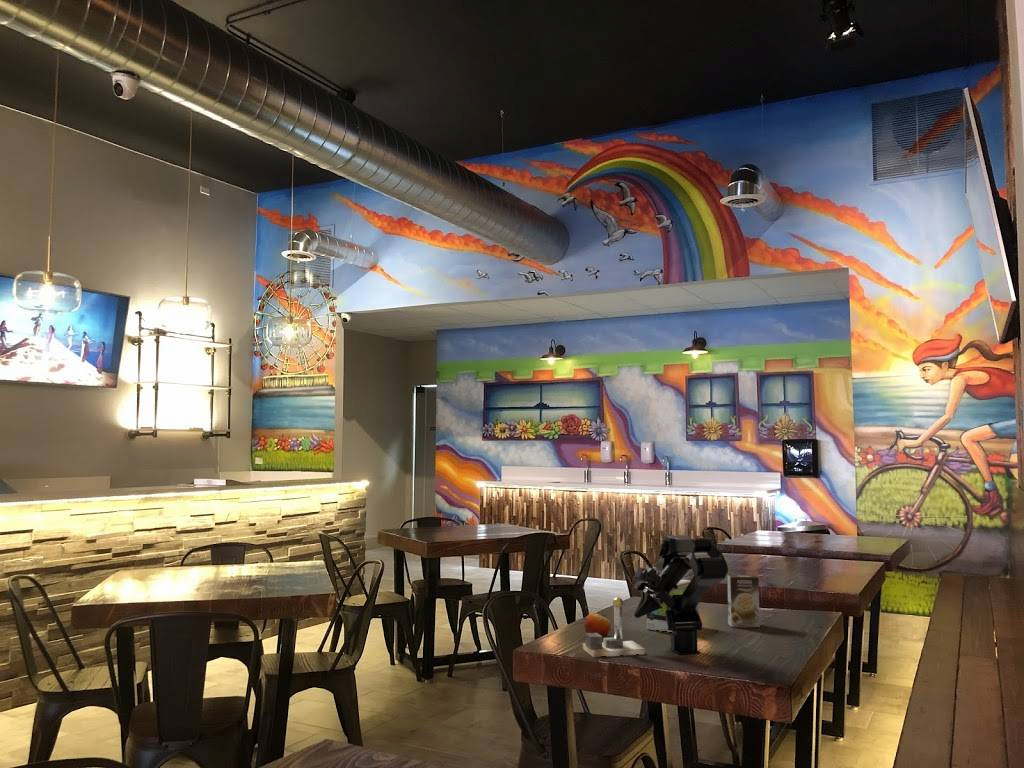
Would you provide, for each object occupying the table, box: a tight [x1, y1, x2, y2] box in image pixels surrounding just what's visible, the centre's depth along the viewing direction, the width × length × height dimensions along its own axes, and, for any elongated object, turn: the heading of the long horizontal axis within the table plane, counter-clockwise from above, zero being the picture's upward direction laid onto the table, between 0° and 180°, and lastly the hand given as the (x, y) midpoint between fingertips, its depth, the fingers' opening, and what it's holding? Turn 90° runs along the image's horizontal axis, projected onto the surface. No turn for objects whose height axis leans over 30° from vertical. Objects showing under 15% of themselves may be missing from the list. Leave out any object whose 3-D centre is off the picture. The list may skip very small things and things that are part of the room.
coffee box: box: [727, 573, 760, 628], centre depth 266 cm, size 9×6×16 cm
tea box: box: [646, 579, 693, 633], centre depth 264 cm, size 15×10×15 cm, turn 143°
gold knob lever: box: [602, 596, 624, 647], centre depth 232 cm, size 6×3×13 cm, turn 102°
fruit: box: [584, 612, 612, 639], centre depth 251 cm, size 8×8×8 cm
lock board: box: [582, 632, 646, 658], centre depth 232 cm, size 15×10×5 cm, turn 102°
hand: (635, 616), depth 234 cm, fingers closed
